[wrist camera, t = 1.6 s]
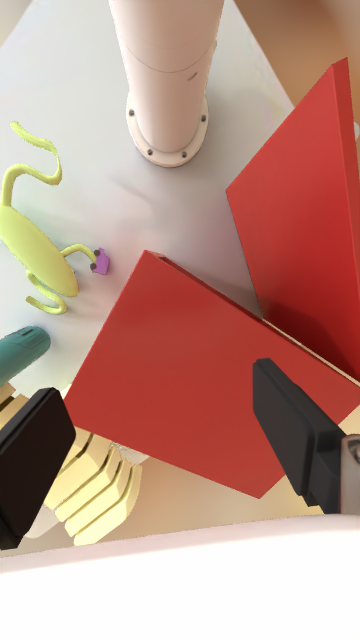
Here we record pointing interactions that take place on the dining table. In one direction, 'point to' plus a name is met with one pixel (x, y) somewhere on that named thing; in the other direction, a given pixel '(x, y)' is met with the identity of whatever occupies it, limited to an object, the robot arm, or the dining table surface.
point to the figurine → (41, 237)
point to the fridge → (192, 378)
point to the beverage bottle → (21, 351)
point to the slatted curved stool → (86, 480)
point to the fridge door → (307, 223)
